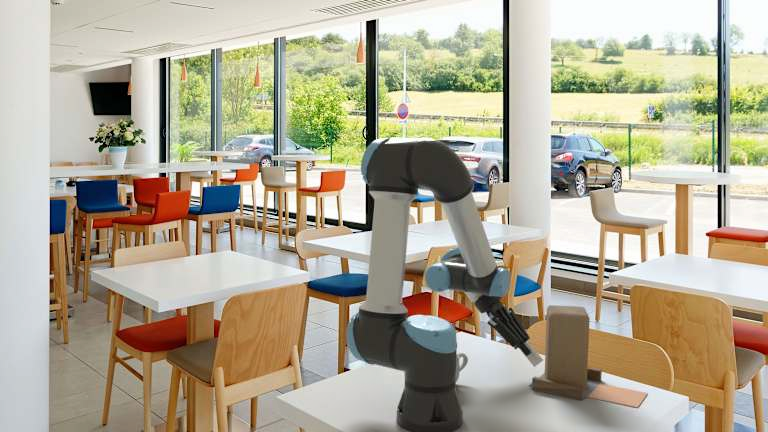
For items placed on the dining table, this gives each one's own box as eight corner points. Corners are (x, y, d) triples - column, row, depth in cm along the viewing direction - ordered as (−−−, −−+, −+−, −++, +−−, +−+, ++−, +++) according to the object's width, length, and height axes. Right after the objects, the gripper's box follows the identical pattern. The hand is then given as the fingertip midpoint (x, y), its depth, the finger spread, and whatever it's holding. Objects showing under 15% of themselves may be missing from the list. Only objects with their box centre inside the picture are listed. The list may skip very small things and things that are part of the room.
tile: (637, 408, 160) (637, 407, 160) (587, 397, 167) (587, 396, 167) (647, 393, 169) (647, 393, 169) (600, 384, 176) (600, 383, 176)
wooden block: (582, 378, 179) (585, 306, 177) (586, 392, 169) (590, 315, 167) (544, 375, 181) (546, 304, 179) (546, 389, 171) (549, 313, 169)
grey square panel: (586, 398, 166) (586, 397, 166) (529, 385, 174) (529, 385, 174) (601, 382, 177) (601, 382, 176) (546, 371, 185) (546, 371, 185)
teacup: (426, 394, 168) (426, 363, 167) (412, 379, 178) (413, 350, 177) (477, 389, 171) (477, 359, 171) (461, 375, 182) (461, 346, 181)
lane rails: (582, 400, 164) (582, 388, 164) (531, 389, 171) (532, 378, 171) (601, 380, 178) (601, 369, 178) (554, 370, 186) (554, 360, 185)
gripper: (482, 291, 179) (539, 362, 172) (501, 282, 190) (556, 349, 183) (464, 307, 183) (520, 378, 175) (484, 298, 193) (537, 364, 186)
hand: (538, 363), depth 179 cm, fingers closed
